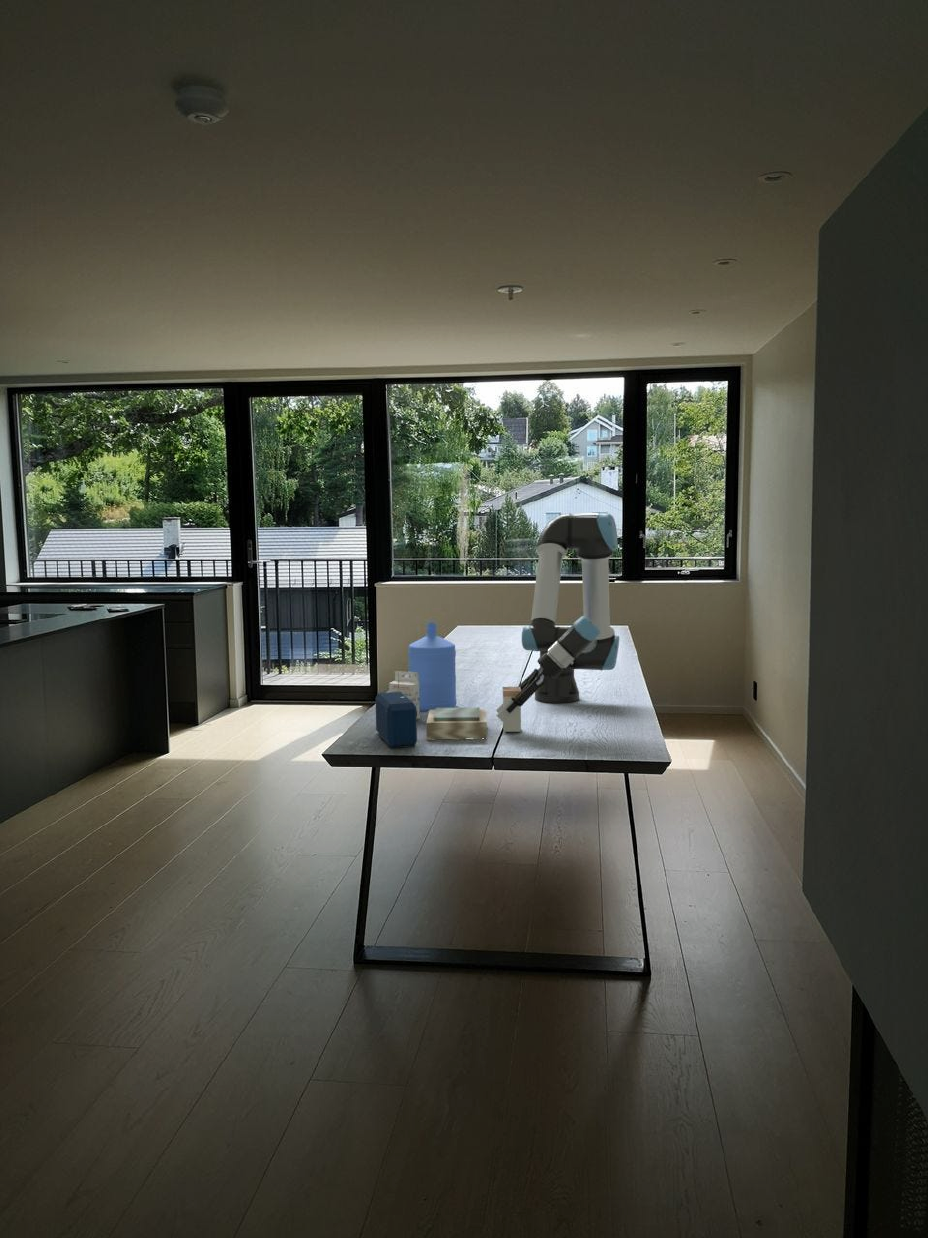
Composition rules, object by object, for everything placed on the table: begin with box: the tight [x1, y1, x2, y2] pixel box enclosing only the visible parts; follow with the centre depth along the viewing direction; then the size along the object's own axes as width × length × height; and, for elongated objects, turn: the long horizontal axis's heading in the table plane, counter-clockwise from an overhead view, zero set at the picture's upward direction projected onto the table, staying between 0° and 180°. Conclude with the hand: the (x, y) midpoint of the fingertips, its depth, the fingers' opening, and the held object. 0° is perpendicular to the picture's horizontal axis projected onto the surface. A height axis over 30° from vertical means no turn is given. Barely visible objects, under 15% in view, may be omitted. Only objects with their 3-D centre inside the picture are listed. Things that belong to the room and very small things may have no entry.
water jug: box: [407, 622, 457, 713], centre depth 303 cm, size 16×16×28 cm
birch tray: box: [425, 706, 488, 741], centre depth 269 cm, size 17×17×6 cm
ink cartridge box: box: [388, 670, 420, 720], centre depth 287 cm, size 9×5×15 cm, turn 71°
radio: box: [375, 674, 418, 749], centre depth 261 cm, size 21×9×20 cm, turn 17°
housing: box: [502, 686, 522, 733], centre depth 270 cm, size 5×6×12 cm
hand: (499, 716), depth 270 cm, fingers closed on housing, 6 cm apart
